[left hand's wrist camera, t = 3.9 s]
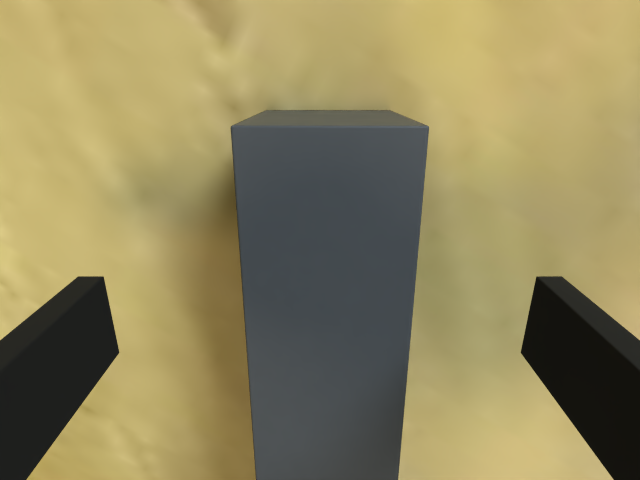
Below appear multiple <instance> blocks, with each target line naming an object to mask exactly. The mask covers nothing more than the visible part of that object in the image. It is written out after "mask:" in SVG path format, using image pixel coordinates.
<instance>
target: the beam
mask: <svg viewBox="0 0 640 480" xmlns="http://www.w3.org/2000/svg"><path fill="white" fill-rule="evenodd" d="M428 133H429V126H427V125H424V124H422V123H419V122H417V121H415V120H412V119H410V118H407V117H405V116H402V115H400V114H398V113H395V112H393V111H390V110H266V111H263V112H261V113H259V114H257V115H255V116H252V117H250V118H248V119H246V120H243V121H241V122H239V123H237V124H235V125H232V126H231V138H232V152H233V166H234V180H235V194H236V207H237V221H238V235H239V249H240V263H241V277H242V291H243V305H244V318H245V332H246V346H247V360H248V374H249V388H250V402H251V416H252V430H253V443H254V457H255V471H256V480H398V473H399V462H400V451H401V439H402V428H403V417H404V405H405V394H406V383H407V371H408V360H409V349H410V337H411V326H412V315H413V303H414V292H415V281H416V269H417V258H418V247H419V235H420V224H421V212H422V201H423V190H424V178H425V167H426V156H427V144H428Z"/></svg>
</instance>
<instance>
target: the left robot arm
mask: <svg viewBox="0 0 640 480" xmlns="http://www.w3.org/2000/svg"><path fill="white" fill-rule="evenodd" d="M118 354H119V349H118V345H117V340H116V335H115V330H114V325H113V320H112V315H111V311H110V306H109V301H108V296H107V291H106V286H105V281H104V277H77V278H76V279H75V280H73V281H72V282H71V283H70V284H69V285H67V286H66V287H65V288H64V289H62V290H61V291H60V292H59V293H58V294H56V295H55V296H54V297H53V298H52V299H50V300H49V301H48V302H47V303H45V304H44V305H43V306H42V307H41V308H39V309H38V310H37V311H36V312H34V313H33V314H32V315H31V316H30V317H28V318H27V319H26V320H25V321H23V322H22V323H21V324H20V325H19V326H17V327H16V328H15V329H14V330H12V331H11V332H10V333H9V334H8V335H6V336H5V337H4V338H3V339H2V340H0V480H26V479H27V478H28V476H29V475H30V474H31V472H32V471H33V470H34V468H35V467H36V466H37V464H38V463H39V461H40V460H41V459H42V457H43V456H44V455H45V453H46V452H47V451H48V449H49V448H50V446H51V445H52V444H53V442H54V441H55V440H56V438H57V437H58V436H59V434H60V433H61V431H62V430H63V429H64V427H65V426H66V425H67V423H68V422H69V421H70V419H71V418H72V416H73V415H74V414H75V412H76V411H77V410H78V408H79V407H80V405H81V404H82V403H83V401H84V400H85V399H86V397H87V396H88V395H89V393H90V392H91V390H92V389H93V388H94V386H95V385H96V384H97V382H98V381H99V380H100V378H101V377H102V375H103V374H104V373H105V371H106V370H107V369H108V367H109V366H110V365H111V363H112V362H113V360H114V359H115V358H116V356H117V355H118ZM521 354H522V355H523V356H524V358H525V359H526V360H527V362H528V363H529V365H530V366H531V367H532V369H533V370H534V371H535V373H536V374H537V375H538V377H539V378H540V380H541V381H542V382H543V384H544V385H545V386H546V388H547V389H548V390H549V392H550V393H551V395H552V396H553V397H554V399H555V400H556V401H557V403H558V404H559V405H560V407H561V408H562V410H563V411H564V412H565V414H566V415H567V416H568V418H569V419H570V421H571V422H572V423H573V425H574V426H575V427H576V429H577V430H578V431H579V433H580V434H581V436H582V437H583V438H584V440H585V441H586V442H587V444H588V445H589V446H590V448H591V449H592V451H593V452H594V453H595V455H596V456H597V457H598V459H599V460H600V461H601V463H602V464H603V466H604V467H605V468H606V470H607V471H608V472H609V474H610V475H611V476H612V478H613V479H614V480H640V340H638V339H637V338H636V337H635V336H634V335H632V334H631V333H630V332H629V331H628V330H626V329H625V328H624V327H623V326H621V325H620V324H619V323H618V322H617V321H615V320H614V319H613V318H612V317H610V316H609V315H608V314H607V313H606V312H604V311H603V310H602V309H601V308H599V307H598V306H597V305H596V304H595V303H593V302H592V301H591V300H590V299H588V298H587V297H586V296H585V295H584V294H582V293H581V292H580V291H579V290H578V289H576V288H575V287H574V286H573V285H571V284H570V283H569V282H568V281H567V280H565V279H564V278H563V277H536V281H535V286H534V291H533V296H532V301H531V306H530V311H529V315H528V320H527V325H526V330H525V335H524V340H523V345H522V349H521Z"/></svg>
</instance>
